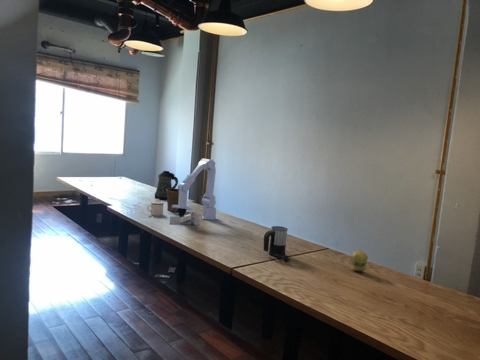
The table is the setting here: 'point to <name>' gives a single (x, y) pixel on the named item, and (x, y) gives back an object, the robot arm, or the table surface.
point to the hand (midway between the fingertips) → (181, 219)
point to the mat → (177, 221)
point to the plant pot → (172, 199)
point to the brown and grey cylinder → (192, 220)
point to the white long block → (185, 218)
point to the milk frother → (276, 242)
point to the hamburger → (359, 260)
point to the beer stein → (165, 185)
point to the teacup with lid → (156, 208)
